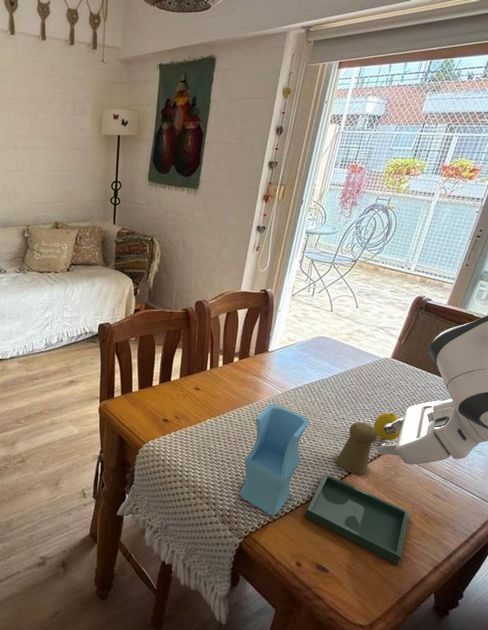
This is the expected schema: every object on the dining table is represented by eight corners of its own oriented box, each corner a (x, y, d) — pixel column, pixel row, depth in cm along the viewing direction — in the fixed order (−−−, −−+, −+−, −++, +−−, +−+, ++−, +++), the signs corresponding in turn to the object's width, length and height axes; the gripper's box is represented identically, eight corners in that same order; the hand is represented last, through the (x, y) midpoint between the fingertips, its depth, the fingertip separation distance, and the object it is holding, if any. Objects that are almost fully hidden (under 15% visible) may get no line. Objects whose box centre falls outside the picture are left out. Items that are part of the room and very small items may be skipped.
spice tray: (406, 519, 89) (410, 512, 88) (397, 565, 79) (400, 557, 78) (322, 480, 98) (324, 473, 97) (304, 516, 89) (307, 509, 88)
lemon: (365, 435, 113) (374, 409, 110) (380, 430, 115) (389, 405, 112) (385, 449, 108) (396, 422, 105) (401, 444, 110) (411, 418, 107)
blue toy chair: (237, 495, 93) (255, 418, 85) (253, 476, 98) (271, 402, 91) (274, 517, 88) (297, 437, 80) (289, 496, 93) (312, 419, 85)
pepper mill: (330, 458, 105) (343, 420, 100) (350, 453, 106) (363, 416, 102) (352, 476, 99) (367, 437, 95) (372, 471, 101) (387, 432, 97)
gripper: (448, 387, 94) (380, 407, 104) (442, 431, 80) (365, 449, 90) (467, 413, 93) (397, 430, 103) (464, 462, 79) (383, 477, 89)
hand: (382, 439), depth 96 cm, fingers open, 8 cm apart
